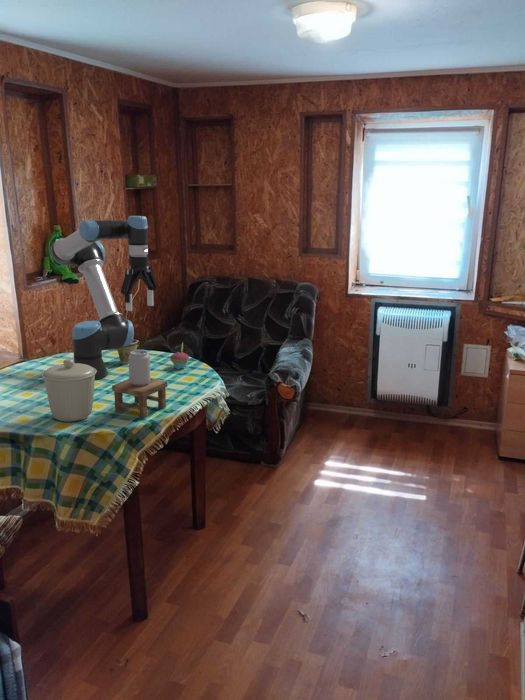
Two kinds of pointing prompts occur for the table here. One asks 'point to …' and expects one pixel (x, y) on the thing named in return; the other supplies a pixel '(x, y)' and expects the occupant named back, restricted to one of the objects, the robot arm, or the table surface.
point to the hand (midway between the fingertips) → (140, 308)
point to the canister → (70, 390)
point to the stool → (140, 395)
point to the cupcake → (179, 359)
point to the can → (139, 368)
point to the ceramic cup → (127, 351)
